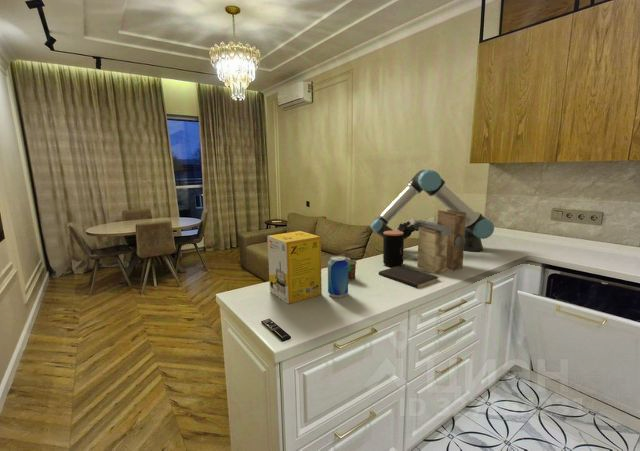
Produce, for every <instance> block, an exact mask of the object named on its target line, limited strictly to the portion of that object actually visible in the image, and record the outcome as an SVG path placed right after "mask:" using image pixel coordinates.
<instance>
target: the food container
mask: <svg viewBox="0 0 640 451" xmlns="http://www.w3.org/2000/svg"><path fill="white" fill-rule="evenodd" d="M339 256H344V257H346V260H347V262H348V279H349V280H350V281H351V280H353V281H354V280H356V268H357V267H356V266H357V259H352V258H351V257H349V256H346V253H343V254H340V255H339ZM349 280H348V281H349Z"/></svg>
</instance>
